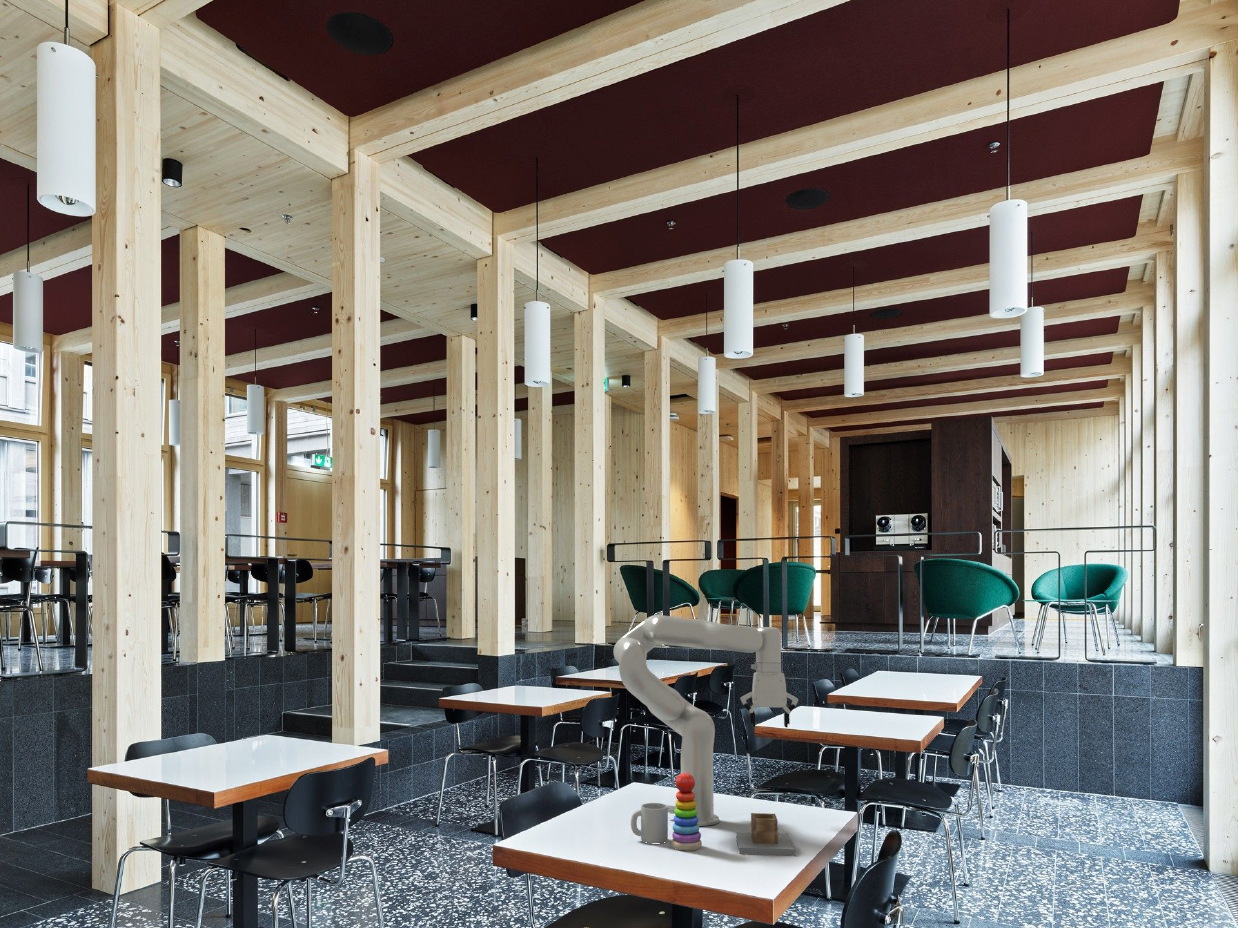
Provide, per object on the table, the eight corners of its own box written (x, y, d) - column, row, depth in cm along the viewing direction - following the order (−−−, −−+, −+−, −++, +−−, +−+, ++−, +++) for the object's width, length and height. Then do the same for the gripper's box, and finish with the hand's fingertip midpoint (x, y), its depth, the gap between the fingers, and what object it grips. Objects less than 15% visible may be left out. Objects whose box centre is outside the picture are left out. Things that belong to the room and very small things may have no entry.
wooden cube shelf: (753, 843, 224) (752, 818, 225) (751, 836, 231) (750, 812, 231) (777, 843, 224) (777, 819, 225) (775, 837, 230) (775, 813, 231)
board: (739, 853, 220) (739, 832, 221) (736, 837, 235) (736, 818, 236) (794, 855, 219) (794, 834, 220) (788, 839, 234) (788, 819, 234)
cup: (668, 844, 228) (668, 809, 229) (630, 844, 228) (631, 808, 229) (667, 837, 235) (666, 802, 236) (630, 836, 235) (630, 802, 236)
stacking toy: (671, 842, 230) (671, 769, 233) (701, 843, 229) (701, 769, 232) (670, 850, 222) (670, 775, 225) (701, 851, 221) (701, 775, 224)
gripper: (740, 668, 260) (741, 727, 257) (798, 669, 258) (800, 728, 256) (739, 666, 267) (740, 724, 264) (795, 667, 266) (797, 725, 263)
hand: (769, 726), depth 260 cm, fingers open, 9 cm apart
